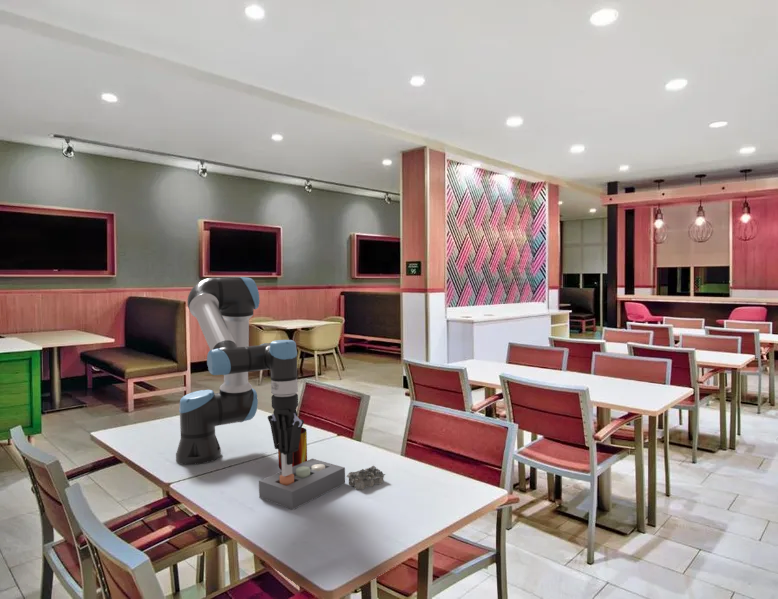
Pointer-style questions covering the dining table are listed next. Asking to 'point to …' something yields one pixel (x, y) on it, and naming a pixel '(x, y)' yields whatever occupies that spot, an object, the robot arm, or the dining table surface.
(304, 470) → the sage button
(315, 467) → the cream button
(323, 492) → the console
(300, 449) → the mug
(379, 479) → the egg carton
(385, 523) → the dining table surface
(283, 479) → the rust button
